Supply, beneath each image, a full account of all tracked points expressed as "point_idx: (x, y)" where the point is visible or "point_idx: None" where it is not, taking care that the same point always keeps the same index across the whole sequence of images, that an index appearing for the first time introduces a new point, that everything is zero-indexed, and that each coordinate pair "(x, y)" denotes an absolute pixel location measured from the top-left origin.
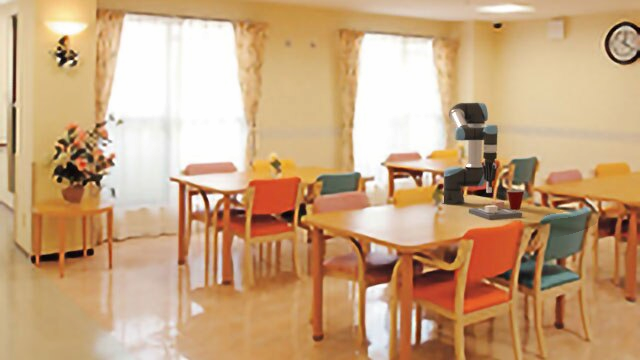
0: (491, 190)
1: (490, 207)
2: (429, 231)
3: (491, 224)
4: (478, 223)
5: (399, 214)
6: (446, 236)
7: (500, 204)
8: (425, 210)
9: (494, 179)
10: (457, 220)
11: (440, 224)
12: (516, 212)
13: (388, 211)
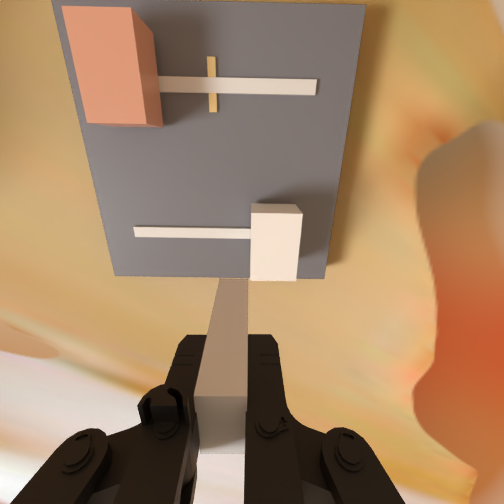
0: (247, 294)
1: (296, 266)
2: None
3: (406, 312)
4: (360, 343)
5: None
6: (446, 478)
7: (146, 70)
8: (38, 387)
9: (378, 473)
10: None
11: None
12: (333, 51)
13: None
